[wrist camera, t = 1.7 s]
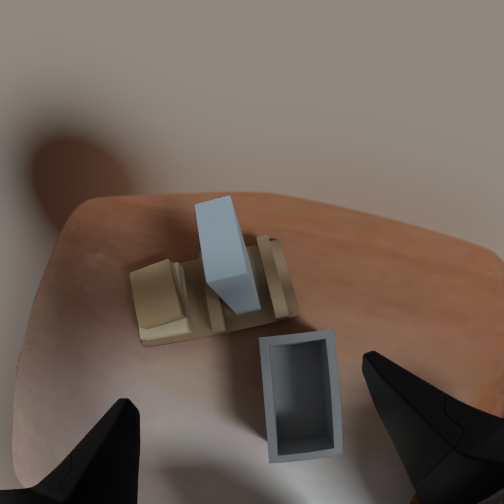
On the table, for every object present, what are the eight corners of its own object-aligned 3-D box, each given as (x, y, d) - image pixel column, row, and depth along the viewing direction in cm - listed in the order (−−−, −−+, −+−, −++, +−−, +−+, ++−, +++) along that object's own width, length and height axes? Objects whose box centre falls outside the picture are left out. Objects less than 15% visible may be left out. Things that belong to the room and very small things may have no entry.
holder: (331, 436, 18) (342, 453, 14) (271, 444, 18) (269, 463, 14) (322, 334, 21) (333, 328, 17) (263, 341, 22) (258, 337, 17)
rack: (299, 316, 22) (303, 309, 19) (145, 347, 22) (126, 344, 19) (279, 241, 25) (279, 224, 22) (138, 275, 25) (120, 264, 22)
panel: (261, 309, 22) (247, 272, 13) (237, 314, 22) (206, 282, 13) (249, 259, 24) (230, 195, 15) (227, 264, 24) (194, 204, 15)
